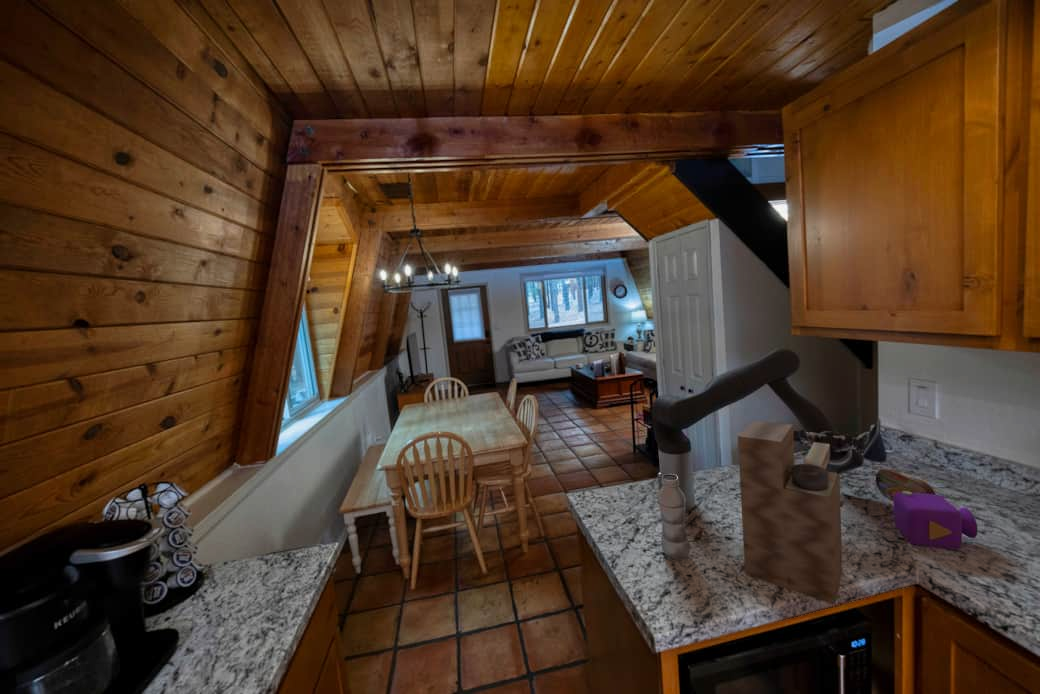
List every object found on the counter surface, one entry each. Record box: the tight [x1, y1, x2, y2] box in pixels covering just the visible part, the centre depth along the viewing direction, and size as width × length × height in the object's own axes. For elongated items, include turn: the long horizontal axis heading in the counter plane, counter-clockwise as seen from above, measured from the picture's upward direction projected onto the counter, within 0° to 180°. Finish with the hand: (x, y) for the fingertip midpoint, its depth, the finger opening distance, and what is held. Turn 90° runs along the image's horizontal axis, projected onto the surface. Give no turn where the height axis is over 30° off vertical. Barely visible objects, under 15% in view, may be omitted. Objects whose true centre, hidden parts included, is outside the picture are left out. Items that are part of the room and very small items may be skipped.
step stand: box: [737, 419, 843, 606], centre depth 88 cm, size 16×12×32 cm
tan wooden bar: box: [792, 442, 830, 491], centre depth 88 cm, size 6×20×3 cm, turn 137°
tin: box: [875, 468, 937, 502], centre depth 110 cm, size 15×3×8 cm, turn 1°
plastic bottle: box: [657, 474, 691, 561], centre depth 99 cm, size 6×7×20 cm
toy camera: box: [893, 491, 979, 550], centre depth 95 cm, size 11×14×10 cm
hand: (824, 435), depth 98 cm, fingers open, 8 cm apart
